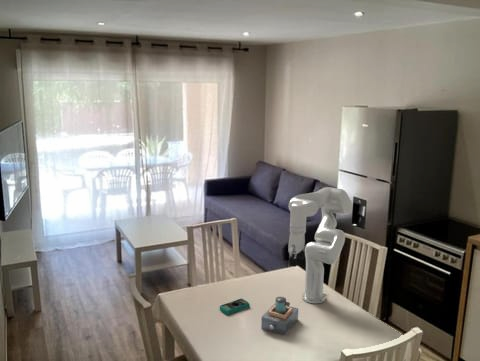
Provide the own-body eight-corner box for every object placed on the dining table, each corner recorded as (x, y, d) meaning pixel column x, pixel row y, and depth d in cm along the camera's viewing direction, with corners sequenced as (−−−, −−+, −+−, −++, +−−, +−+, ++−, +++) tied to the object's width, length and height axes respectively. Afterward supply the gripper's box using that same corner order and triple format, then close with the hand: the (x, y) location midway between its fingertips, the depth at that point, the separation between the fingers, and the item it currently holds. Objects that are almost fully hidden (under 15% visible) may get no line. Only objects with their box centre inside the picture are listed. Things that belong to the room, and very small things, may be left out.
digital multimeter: (250, 307, 224) (250, 302, 223) (227, 316, 215) (227, 310, 215) (242, 302, 230) (242, 297, 229) (218, 310, 221) (218, 305, 220)
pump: (277, 308, 210) (278, 295, 208) (290, 312, 207) (291, 299, 205) (273, 313, 205) (273, 300, 204) (286, 317, 202) (287, 303, 201)
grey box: (275, 313, 217) (275, 299, 216) (297, 319, 212) (298, 305, 210) (259, 330, 202) (259, 315, 200) (283, 337, 196) (283, 322, 195)
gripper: (297, 222, 215) (296, 255, 219) (283, 232, 200) (282, 266, 204) (311, 225, 212) (310, 257, 215) (298, 235, 197) (297, 270, 200)
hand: (296, 262), depth 210 cm, fingers open, 9 cm apart
